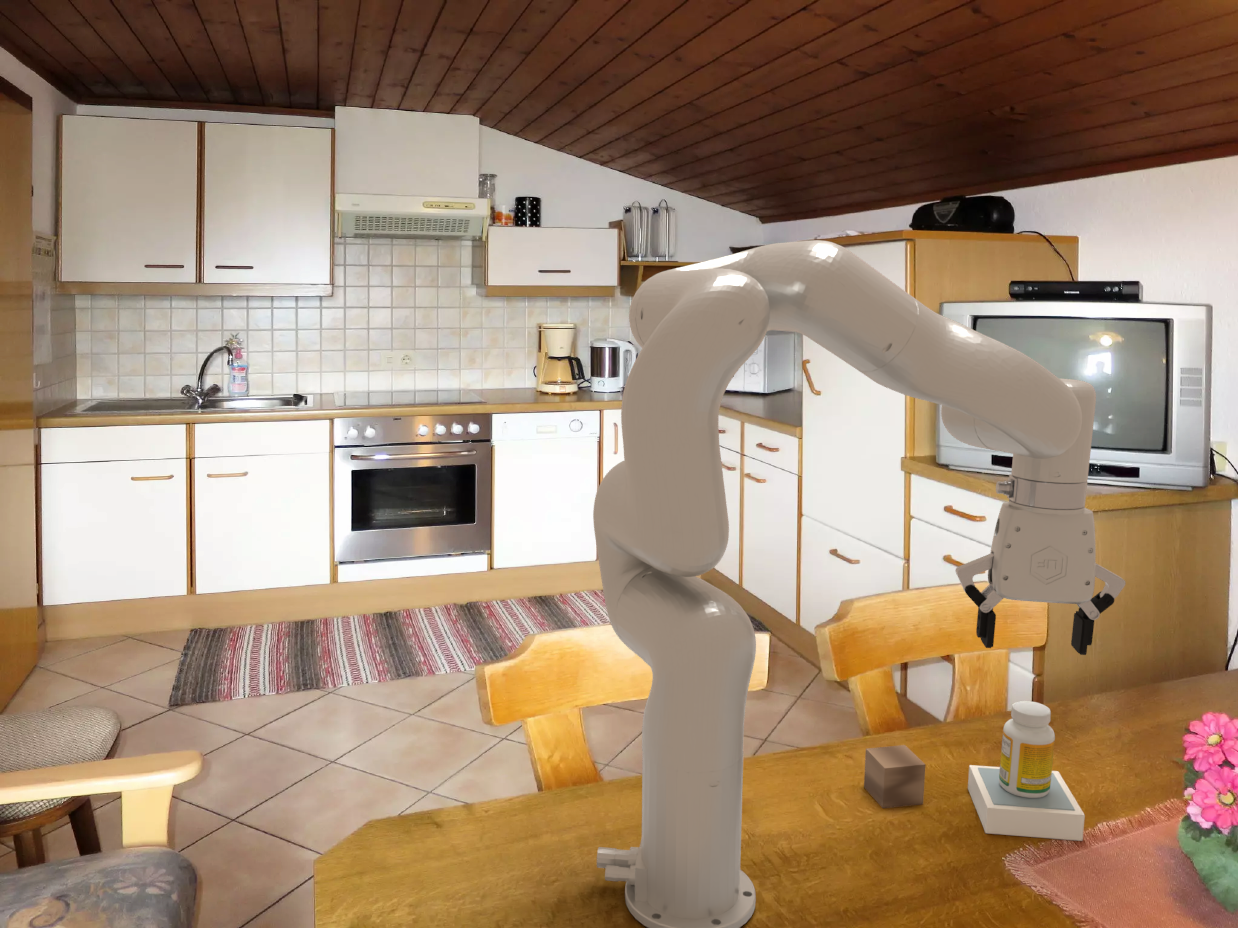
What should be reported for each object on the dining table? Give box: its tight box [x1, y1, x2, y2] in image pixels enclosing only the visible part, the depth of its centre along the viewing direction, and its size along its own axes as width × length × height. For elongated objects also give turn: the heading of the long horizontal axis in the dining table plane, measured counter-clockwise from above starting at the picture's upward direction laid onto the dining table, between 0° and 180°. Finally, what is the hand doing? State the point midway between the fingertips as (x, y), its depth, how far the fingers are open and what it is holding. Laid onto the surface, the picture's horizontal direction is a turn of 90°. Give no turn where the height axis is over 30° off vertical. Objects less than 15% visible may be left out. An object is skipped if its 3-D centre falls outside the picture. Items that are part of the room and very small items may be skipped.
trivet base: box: [967, 764, 1086, 842], centre depth 112 cm, size 10×10×3 cm
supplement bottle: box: [999, 700, 1056, 798], centre depth 111 cm, size 5×5×10 cm
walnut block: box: [863, 744, 926, 809], centre depth 116 cm, size 5×5×5 cm
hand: (1032, 647), depth 109 cm, fingers open, 9 cm apart
